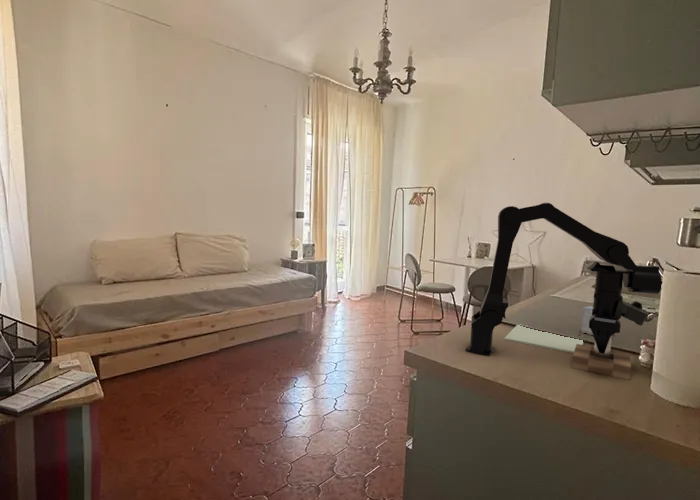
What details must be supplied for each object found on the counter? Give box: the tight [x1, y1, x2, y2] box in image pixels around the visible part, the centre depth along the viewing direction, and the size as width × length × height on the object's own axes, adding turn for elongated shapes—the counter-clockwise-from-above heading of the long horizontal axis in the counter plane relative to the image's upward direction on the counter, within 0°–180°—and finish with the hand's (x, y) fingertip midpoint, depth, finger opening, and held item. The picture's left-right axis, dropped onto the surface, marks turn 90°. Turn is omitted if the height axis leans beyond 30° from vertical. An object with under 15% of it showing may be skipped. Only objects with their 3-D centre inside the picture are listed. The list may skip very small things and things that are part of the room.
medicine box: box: [580, 305, 593, 334], centre depth 131 cm, size 8×4×9 cm, turn 35°
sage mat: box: [503, 324, 584, 354], centre depth 126 cm, size 20×20×1 cm
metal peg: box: [593, 333, 616, 359], centre depth 103 cm, size 5×5×10 cm
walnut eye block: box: [571, 344, 632, 381], centre depth 103 cm, size 12×12×3 cm
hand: (601, 350), depth 103 cm, fingers closed on metal peg, 4 cm apart
